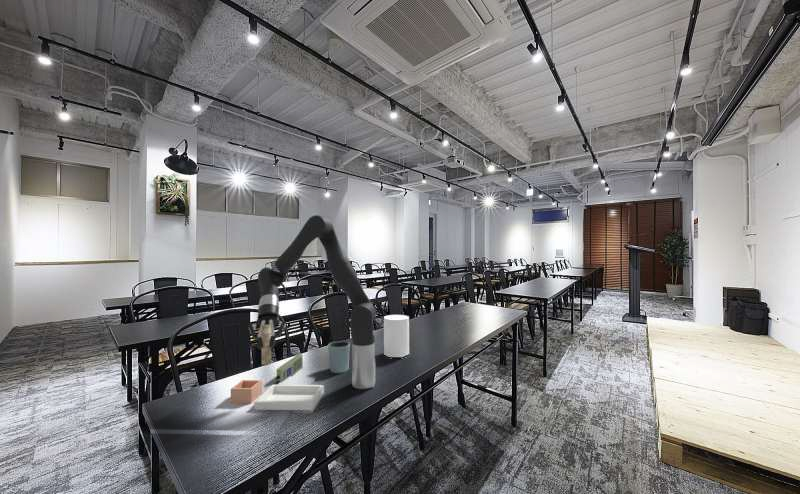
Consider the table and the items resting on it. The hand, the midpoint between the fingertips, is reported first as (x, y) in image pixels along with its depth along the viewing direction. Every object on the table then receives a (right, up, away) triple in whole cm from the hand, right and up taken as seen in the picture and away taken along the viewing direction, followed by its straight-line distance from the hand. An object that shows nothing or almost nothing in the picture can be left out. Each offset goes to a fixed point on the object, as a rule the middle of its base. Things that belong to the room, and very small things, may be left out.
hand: (265, 347), depth 109 cm
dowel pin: (0, -7, +2) cm, 7 cm away
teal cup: (+20, -21, +32) cm, 44 cm away
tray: (+9, -20, +1) cm, 22 cm away
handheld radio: (-1, -21, +23) cm, 31 cm away
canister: (+47, -22, +53) cm, 74 cm away
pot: (-8, -20, +2) cm, 22 cm away
